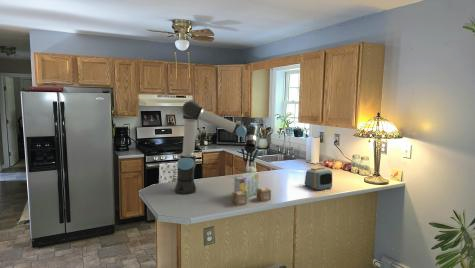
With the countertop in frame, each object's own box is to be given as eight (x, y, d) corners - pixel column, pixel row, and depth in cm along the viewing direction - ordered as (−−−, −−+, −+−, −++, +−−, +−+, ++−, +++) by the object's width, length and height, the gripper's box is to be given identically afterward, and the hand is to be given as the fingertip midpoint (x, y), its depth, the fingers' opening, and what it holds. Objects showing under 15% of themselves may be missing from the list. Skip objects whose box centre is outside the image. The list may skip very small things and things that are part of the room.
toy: (259, 178, 264) (260, 161, 262) (246, 182, 251) (247, 164, 249) (250, 175, 270) (250, 159, 269) (237, 179, 258) (237, 161, 256)
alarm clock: (318, 191, 232) (319, 170, 230) (303, 185, 246) (304, 166, 244) (333, 188, 241) (334, 168, 239) (317, 183, 255) (319, 164, 253)
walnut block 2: (256, 198, 212) (256, 188, 211) (265, 197, 215) (265, 187, 214) (261, 201, 206) (262, 191, 205) (270, 200, 209) (271, 190, 208)
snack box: (252, 192, 226) (252, 171, 224) (258, 193, 222) (259, 173, 220) (233, 198, 209) (234, 177, 207) (239, 200, 206) (240, 179, 204)
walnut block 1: (232, 202, 203) (232, 191, 202) (241, 201, 206) (242, 190, 205) (237, 206, 196) (237, 195, 195) (246, 204, 199) (247, 193, 198)
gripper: (260, 145, 230) (256, 173, 215) (242, 144, 232) (238, 171, 218) (259, 139, 224) (256, 167, 210) (241, 138, 226) (237, 166, 212)
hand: (247, 169), depth 214 cm, fingers closed
